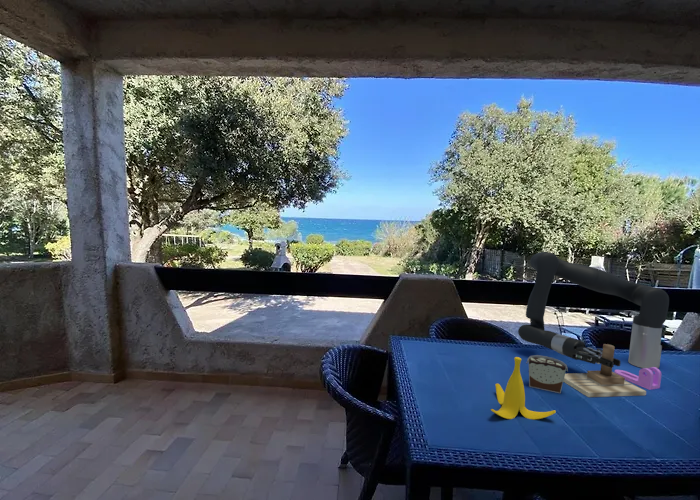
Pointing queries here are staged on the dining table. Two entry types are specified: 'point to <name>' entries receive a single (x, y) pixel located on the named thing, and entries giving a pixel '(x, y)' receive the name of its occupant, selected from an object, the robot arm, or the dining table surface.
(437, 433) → the dining table surface
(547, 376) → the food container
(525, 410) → the banana peel
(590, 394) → the pine board
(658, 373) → the bracket
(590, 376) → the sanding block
